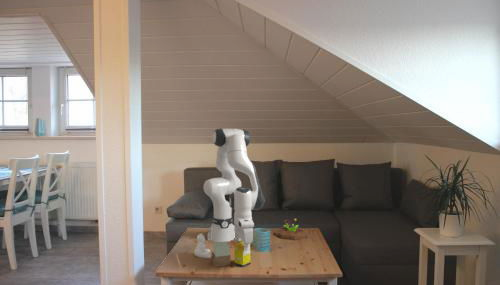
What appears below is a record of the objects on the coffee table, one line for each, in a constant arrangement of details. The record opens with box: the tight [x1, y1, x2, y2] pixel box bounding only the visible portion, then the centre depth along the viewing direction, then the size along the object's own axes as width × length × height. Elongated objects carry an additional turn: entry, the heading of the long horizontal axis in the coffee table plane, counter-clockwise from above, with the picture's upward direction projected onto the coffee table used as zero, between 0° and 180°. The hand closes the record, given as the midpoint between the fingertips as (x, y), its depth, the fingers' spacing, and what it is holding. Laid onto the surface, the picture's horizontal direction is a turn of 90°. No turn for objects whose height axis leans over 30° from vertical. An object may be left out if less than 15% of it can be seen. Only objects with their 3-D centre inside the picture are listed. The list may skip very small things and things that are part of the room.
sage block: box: [212, 241, 231, 257], centre depth 181 cm, size 7×7×5 cm
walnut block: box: [211, 251, 231, 267], centre depth 182 cm, size 8×8×5 cm
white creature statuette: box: [193, 233, 211, 259], centre depth 192 cm, size 10×9×12 cm
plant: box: [274, 217, 309, 241], centre depth 233 cm, size 20×20×11 cm
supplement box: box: [233, 240, 251, 268], centre depth 181 cm, size 6×6×11 cm
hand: (242, 247), depth 181 cm, fingers open, 8 cm apart
